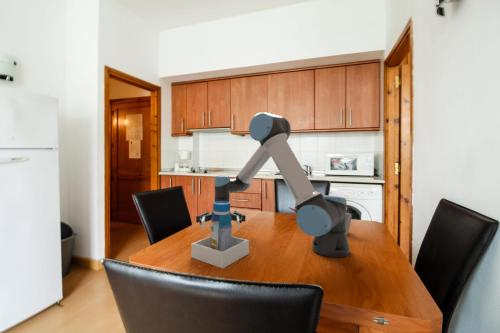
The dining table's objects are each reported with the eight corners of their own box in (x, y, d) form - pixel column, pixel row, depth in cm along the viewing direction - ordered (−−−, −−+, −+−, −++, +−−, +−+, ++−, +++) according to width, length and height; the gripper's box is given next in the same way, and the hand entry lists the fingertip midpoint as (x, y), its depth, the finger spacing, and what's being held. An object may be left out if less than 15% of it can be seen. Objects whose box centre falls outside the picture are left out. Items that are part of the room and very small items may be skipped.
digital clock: (318, 228, 136) (318, 209, 135) (330, 226, 140) (330, 207, 139) (342, 237, 121) (342, 215, 121) (354, 234, 126) (355, 213, 125)
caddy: (248, 253, 100) (248, 240, 100) (222, 268, 87) (222, 253, 87) (219, 245, 110) (219, 232, 109) (191, 257, 96) (191, 243, 96)
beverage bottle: (228, 257, 94) (229, 205, 93) (207, 255, 95) (208, 204, 94) (233, 249, 102) (234, 201, 101) (213, 247, 103) (214, 200, 102)
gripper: (248, 218, 117) (253, 233, 96) (194, 219, 115) (187, 234, 94) (248, 202, 117) (253, 213, 95) (194, 203, 114) (187, 215, 93)
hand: (220, 224), depth 94 cm, fingers open, 13 cm apart
